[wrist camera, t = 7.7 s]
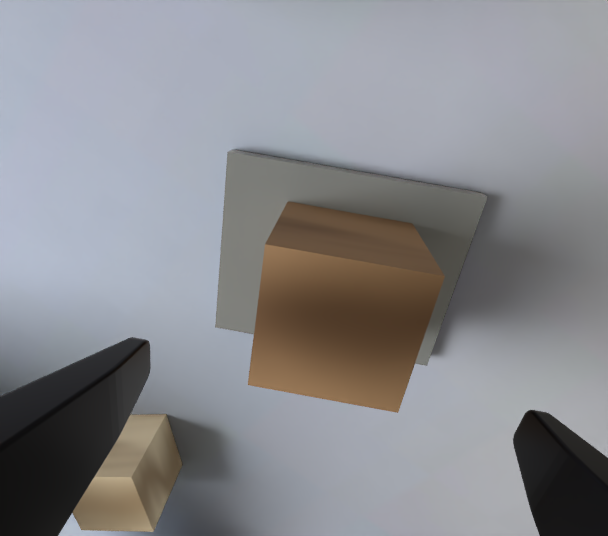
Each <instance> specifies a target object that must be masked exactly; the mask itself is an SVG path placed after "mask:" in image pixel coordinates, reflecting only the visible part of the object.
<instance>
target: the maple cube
mask: <svg viewBox="0 0 608 536" xmlns="http://www.w3.org/2000/svg"><path fill="white" fill-rule="evenodd" d="M182 465H183V464H182V461H181V458H180V455H179V452H178V449H177V446H176V443H175V440H174V437H173V433H172V430H171V427H170V424H169V421H168V418H167V415H166V414H150V415H130V416H129V418H128V420H127V422H126V424H125V426H124V428H123V430H122V432H121V434H120V436H119V438H118V439H117V441H116V443H115V445H114V446H113V448H112V449H111V451H110V453H109V454H108V456H107V458H106V459H105V461H104V462H103V464H102V466H101V467H100V469H99V470H98V472H97V474H96V475H95V477H94V478H93V480H92V482H91V483H90V485H89V486H88V488H87V490H86V491H85V493H84V494H83V496H82V498H81V499H80V501H79V503H78V504H77V506H76V507H75V509H74V511H73V512H72V513H73V515H74V517H75V519H76V520H77V522H78V524H79V526H80V528H81V530H98V531H144V532H154V530H155V527H156V525H157V523H158V520H159V518H160V516H161V513H162V511H163V509H164V506H165V504H166V502H167V499H168V497H169V495H170V493H171V490H172V488H173V486H174V483H175V481H176V479H177V476H178V474H179V472H180V469H181V467H182Z"/></svg>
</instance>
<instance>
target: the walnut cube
mask: <svg viewBox="0 0 608 536" xmlns="http://www.w3.org/2000/svg"><path fill="white" fill-rule="evenodd" d="M444 278H445V276H444V274H443V272H442V271H441V269H440V267H439V266H438V264H437V263H436V261H435V259H434V258H433V256H432V254H431V253H430V251H429V250H428V248H427V246H426V245H425V243H424V241H423V240H422V238H421V237H420V235H419V233H418V232H417V230H416V228H415V227H414V225H413V224H412V223H407V222H402V221H396V220H390V219H385V218H379V217H373V216H368V215H362V214H356V213H351V212H345V211H339V210H334V209H328V208H322V207H317V206H311V205H305V204H300V203H294V202H287V204H286V206H285V208H284V209H283V211H282V213H281V215H280V217H279V219H278V221H277V223H276V224H275V226H274V228H273V230H272V232H271V234H270V236H269V238H268V240H267V241H266V243H265V249H264V257H263V265H262V273H261V281H260V290H259V298H258V306H257V314H256V322H255V330H254V339H253V347H252V355H251V363H250V371H249V379H248V385H251V386H257V387H262V388H267V389H273V390H278V391H284V392H289V393H294V394H300V395H305V396H311V397H316V398H322V399H327V400H332V401H338V402H343V403H349V404H354V405H359V406H365V407H370V408H376V409H381V410H386V411H392V412H397V413H398V411H399V408H400V405H401V402H402V399H403V397H404V394H405V391H406V388H407V385H408V382H409V379H410V376H411V373H412V370H413V368H414V365H415V362H416V359H417V356H418V353H419V350H420V347H421V344H422V341H423V339H424V336H425V333H426V330H427V327H428V324H429V321H430V318H431V315H432V312H433V310H434V307H435V304H436V301H437V298H438V295H439V292H440V289H441V286H442V284H443V281H444Z"/></svg>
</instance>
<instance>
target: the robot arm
mask: <svg viewBox="0 0 608 536" xmlns="http://www.w3.org/2000/svg"><path fill="white" fill-rule="evenodd" d="M149 373H150V343H149V341H147V340H145V339H139V338H133V337H132V338H128V339H126V340H124V341H122V342H119V343H117V344H115V345H113V346H111V347H108V348H106V349H104V350H102V351H100V352H97V353H95V354H93V355H91V356H88V357H86V358H84V359H82V360H80V361H77V362H75V363H73V364H71V365H69V366H66V367H64V368H62V369H60V370H58V371H55V372H53V373H51V374H49V375H47V376H44V377H42V378H40V379H38V380H35V381H33V382H31V383H29V384H27V385H24V386H22V387H20V388H18V389H16V390H13V391H11V392H9V393H7V394H5V395H2V396H0V536H58V535H59V533H60V531H61V530H62V528H63V527H64V525H65V523H66V522H67V520H68V519H69V517H70V515H71V514H72V512H73V511H74V509H75V507H76V506H77V504H78V503H79V501H80V499H81V498H82V496H83V494H84V493H85V491H86V490H87V488H88V486H89V485H90V483H91V482H92V480H93V478H94V477H95V475H96V474H97V472H98V470H99V469H100V467H101V466H102V464H103V462H104V461H105V459H106V458H107V456H108V454H109V453H110V451H111V449H112V448H113V446H114V445H115V443H116V441H117V439H118V438H119V436H120V434H121V432H122V430H123V428H124V426H125V424H126V422H127V420H128V418H129V416H130V414H131V412H132V410H133V408H134V406H135V404H136V402H137V399H138V397H139V395H140V393H141V391H142V389H143V387H144V385H145V383H146V381H147V379H148V376H149ZM513 444H514V449H515V452H516V456H517V460H518V464H519V468H520V471H521V475H522V479H523V483H524V487H525V490H526V494H527V498H528V502H529V505H530V509H531V512H532V515H533V518H534V521H535V524H536V527H537V529H538V532H539V535H540V536H608V458H607V457H606V456H605V455H603V454H602V453H601V452H599V451H598V450H597V449H595V448H594V447H593V446H591V445H590V444H589V443H587V442H586V441H585V440H583V439H582V438H581V437H579V436H578V435H577V434H576V433H574V432H573V431H572V430H570V429H569V428H568V427H566V426H565V425H564V424H562V423H561V422H560V421H558V420H557V419H556V418H554V417H553V416H552V415H550V414H549V413H546V412H541V411H536V410H529V411H527V412H526V413H525V415H524V417H523V419H522V421H521V422H520V424H519V426H518V428H517V430H516V432H515V434H514V438H513Z"/></svg>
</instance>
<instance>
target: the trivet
mask: <svg viewBox="0 0 608 536" xmlns="http://www.w3.org/2000/svg"><path fill="white" fill-rule="evenodd" d="M487 198H488V197H487V196H485V195H484V194H482V193H480V192H474V191H469V190H463V189H457V188H452V187H446V186H440V185H434V184H429V183H423V182H417V181H411V180H406V179H400V178H394V177H388V176H383V175H377V174H371V173H365V172H360V171H354V170H348V169H342V168H337V167H331V166H325V165H319V164H314V163H308V162H302V161H296V160H291V159H285V158H279V157H273V156H268V155H262V154H256V153H250V152H245V151H239V150H231V151H228V154H227V168H226V183H225V197H224V211H223V226H222V240H221V254H220V268H219V283H218V297H217V311H216V325H215V327H217V328H222V329H228V330H233V331H239V332H244V333H250V334H254V330H255V322H256V314H257V306H258V298H259V290H260V281H261V273H262V265H263V257H264V249H265V243H266V241H267V240H268V238H269V236H270V234H271V232H272V230H273V228H274V226H275V224H276V223H277V221H278V219H279V217H280V215H281V213H282V211H283V209H284V208H285V206H286V204H287V202H294V203H300V204H305V205H311V206H317V207H322V208H328V209H334V210H339V211H345V212H351V213H356V214H362V215H368V216H373V217H379V218H385V219H390V220H396V221H402V222H407V223H412V224H413V225H414V227H415V228H416V230H417V232H418V233H419V235H420V237H421V238H422V240H423V241H424V243H425V245H426V246H427V248H428V250H429V251H430V253H431V254H432V256H433V258H434V259H435V261H436V263H437V264H438V266H439V267H440V269H441V271H442V272H443V274H444V276H445V278H444V281H443V284H442V286H441V289H440V292H439V295H438V298H437V301H436V304H435V307H434V310H433V312H432V315H431V318H430V321H429V324H428V327H427V330H426V333H425V336H424V339H423V341H422V344H421V347H420V350H419V353H418V356H417V359H416V362H415V364H420V365H426V366H427V364H428V361H429V358H430V355H431V353H432V350H433V347H434V344H435V342H436V339H437V336H438V333H439V331H440V328H441V325H442V322H443V319H444V317H445V314H446V311H447V308H448V306H449V303H450V300H451V297H452V295H453V292H454V289H455V286H456V283H457V281H458V278H459V275H460V272H461V270H462V267H463V264H464V261H465V258H466V256H467V253H468V250H469V247H470V245H471V242H472V239H473V236H474V234H475V231H476V228H477V225H478V222H479V220H480V217H481V214H482V211H483V209H484V206H485V203H486V200H487Z"/></svg>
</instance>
